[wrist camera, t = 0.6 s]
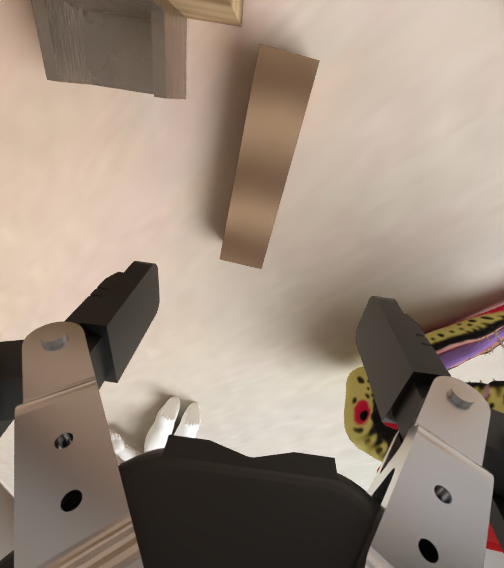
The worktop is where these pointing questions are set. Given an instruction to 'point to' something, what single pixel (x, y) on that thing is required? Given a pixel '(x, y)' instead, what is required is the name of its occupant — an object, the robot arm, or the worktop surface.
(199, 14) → the wooden angled panel
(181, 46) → the bracket
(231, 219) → the rail
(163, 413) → the doll
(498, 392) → the toy
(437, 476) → the robot arm
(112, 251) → the worktop surface
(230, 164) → the worktop surface
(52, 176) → the worktop surface
